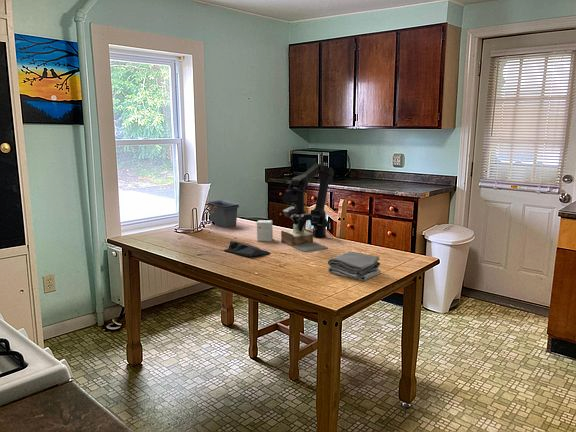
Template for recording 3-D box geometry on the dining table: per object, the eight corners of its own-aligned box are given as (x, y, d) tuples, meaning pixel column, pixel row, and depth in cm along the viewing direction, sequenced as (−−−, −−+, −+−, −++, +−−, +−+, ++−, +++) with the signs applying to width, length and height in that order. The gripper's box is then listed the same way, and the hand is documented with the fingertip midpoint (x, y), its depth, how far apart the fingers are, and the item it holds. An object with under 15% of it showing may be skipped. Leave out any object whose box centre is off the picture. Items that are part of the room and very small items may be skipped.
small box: (272, 238, 255) (272, 220, 253) (271, 241, 249) (271, 222, 247) (258, 238, 255) (258, 220, 253) (256, 241, 250) (256, 222, 248)
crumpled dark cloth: (247, 260, 215) (247, 250, 214) (221, 251, 231) (221, 242, 230) (273, 254, 225) (273, 245, 224) (246, 246, 241) (246, 237, 240)
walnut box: (301, 238, 254) (302, 227, 253) (313, 243, 245) (313, 231, 244) (281, 241, 248) (281, 230, 247) (291, 246, 239) (291, 234, 237)
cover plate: (302, 231, 251) (302, 221, 250) (312, 234, 243) (312, 224, 242) (284, 233, 246) (284, 223, 245) (294, 237, 237) (294, 227, 236)
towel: (346, 265, 207) (346, 248, 205) (382, 274, 195) (383, 256, 193) (326, 273, 195) (326, 255, 194) (363, 283, 184) (364, 264, 182)
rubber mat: (314, 243, 245) (314, 242, 244) (327, 248, 234) (327, 247, 234) (292, 246, 238) (292, 245, 237) (304, 252, 227) (304, 251, 227)
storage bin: (242, 225, 288) (242, 203, 285) (222, 229, 278) (221, 206, 275) (222, 221, 303) (221, 199, 300) (202, 224, 293) (201, 202, 290)
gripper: (276, 200, 245) (276, 229, 248) (294, 205, 229) (294, 236, 232) (294, 198, 250) (294, 226, 253) (313, 203, 235) (313, 233, 238)
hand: (298, 230), depth 244 cm, fingers closed on cover plate, 3 cm apart
